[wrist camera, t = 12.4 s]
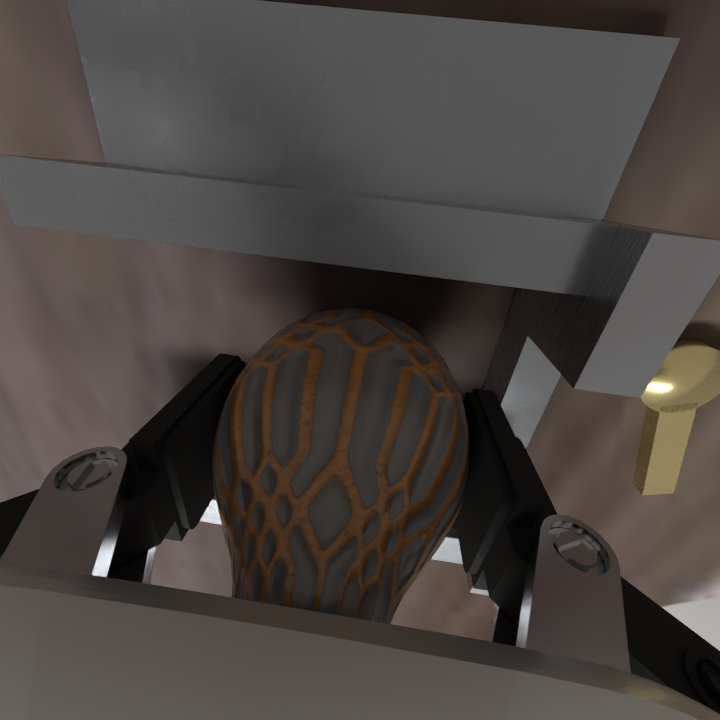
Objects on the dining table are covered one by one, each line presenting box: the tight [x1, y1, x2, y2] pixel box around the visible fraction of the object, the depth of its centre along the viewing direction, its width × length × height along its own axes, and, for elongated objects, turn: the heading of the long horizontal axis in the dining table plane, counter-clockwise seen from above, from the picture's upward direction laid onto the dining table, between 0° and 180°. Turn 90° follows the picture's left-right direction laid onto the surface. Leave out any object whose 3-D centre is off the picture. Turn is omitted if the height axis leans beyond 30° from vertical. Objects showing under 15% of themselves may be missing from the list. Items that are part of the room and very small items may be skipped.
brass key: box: [633, 339, 720, 495], centre depth 13 cm, size 7×3×1 cm, turn 14°
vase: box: [212, 308, 470, 624], centre depth 9 cm, size 7×7×9 cm
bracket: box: [0, 0, 720, 596], centre depth 11 cm, size 20×16×5 cm
